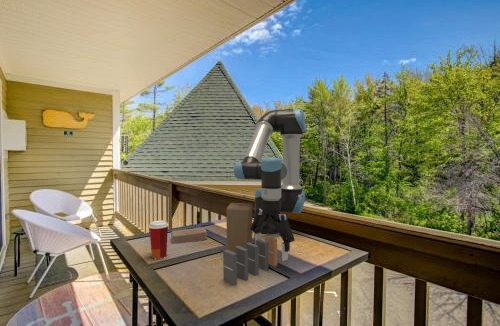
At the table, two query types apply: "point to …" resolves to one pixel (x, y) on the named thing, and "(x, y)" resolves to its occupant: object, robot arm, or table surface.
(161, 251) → the paper cup
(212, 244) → the table surface
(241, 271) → the domino
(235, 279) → the domino
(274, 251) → the head domino
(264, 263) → the domino
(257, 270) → the domino
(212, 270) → the table surface
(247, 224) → the wooden block
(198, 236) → the brick
